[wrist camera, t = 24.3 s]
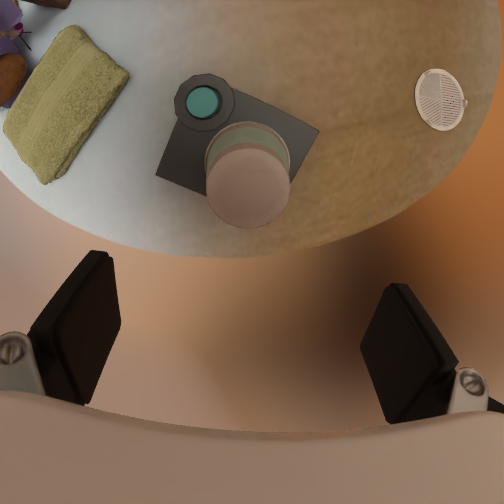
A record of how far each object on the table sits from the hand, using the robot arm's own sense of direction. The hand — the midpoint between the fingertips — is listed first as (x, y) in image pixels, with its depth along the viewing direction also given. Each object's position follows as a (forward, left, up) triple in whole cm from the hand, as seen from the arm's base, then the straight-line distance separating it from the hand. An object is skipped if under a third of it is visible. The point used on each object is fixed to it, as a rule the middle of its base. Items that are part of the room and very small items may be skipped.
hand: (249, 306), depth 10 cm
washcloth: (-24, -2, -26) cm, 36 cm away
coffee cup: (0, 0, -12) cm, 12 cm away
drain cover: (+18, +19, -26) cm, 37 cm away
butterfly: (-40, +7, -23) cm, 46 cm away
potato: (-37, +2, -21) cm, 42 cm away
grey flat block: (-1, 0, -26) cm, 26 cm away
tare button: (-7, +4, -23) cm, 24 cm away
